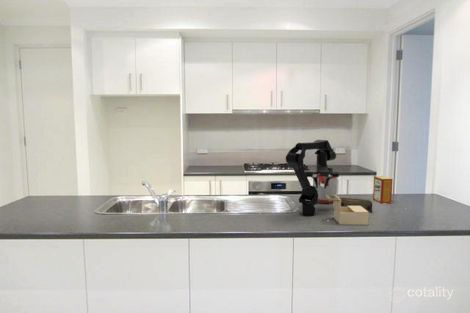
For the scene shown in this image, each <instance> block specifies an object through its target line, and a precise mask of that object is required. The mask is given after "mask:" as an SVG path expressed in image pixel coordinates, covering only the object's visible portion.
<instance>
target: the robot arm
mask: <svg viewBox="0 0 470 313" xmlns="http://www.w3.org/2000/svg"><path fill="white" fill-rule="evenodd" d="M308 150H311V151H312V150H316V151H315V152H314V155H316V165H315V166H316V167H315V168H316V169H315V171H312V170H305V168H304V166H303V164H304V158H305V157H306V151H308ZM299 151H300V153H298V152H299ZM336 159H337V153H336V152H335V151H334V148H332V146H331V144H330V142H329V140H327V139H316V140H314V141H311V142H298V143H296V144H295V146H293V147H292V148H291V149H290V150H289V151H288V152H287V154H286V156H285V162H286V164H288V166H289V167H290V168H291V169H292V170H293V171H294V173H295V175H296V178H297V180H298V183H299V184H300V186H301V192H300V193H301V195H300V196H299V198H298V203H300V204H301V211H300V214H301V215H302V216H303V217H304V216H305V217H307V216H310V217H312V216H313V217H314V216H315V214H316V213H315V212H316V207H315V205H317V204H318V202H317V200H318V193H317V192H318V191H317V189H318V182H317V179H318V177H317V175H320V176H321V177H323V176H325V180H324V188H326V186H327V183H328V181H329V180H330V179H331V178H332V176H333V177H337V178H339V177H340V172H339V171H338V170H333V167H328V162H330V161H335V160H336ZM309 178H311V179H312V181H313V180H314V182H315V185H316V187H315V186H313V185H311V183H310V180H309ZM316 188H317V189H316Z"/></svg>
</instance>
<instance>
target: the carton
mask: <svg viewBox="0 0 470 313" xmlns="http://www.w3.org/2000/svg"><path fill="white" fill-rule="evenodd" d="M369 214H370V213H369V212H368V211H367V210H365V209H364V208H363V207H361V206H347V207H341V208H340V213H339V212H338V211H337V210H336V209H335V208H334V207H333V219H334V220H335V221H336V222H337V223H338V224H339V225H343V226H344V225H350V226H352V225H353V226H355V225H360V226H363V225H365V226H368V225H369Z"/></svg>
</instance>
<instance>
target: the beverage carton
mask: <svg viewBox="0 0 470 313" xmlns="http://www.w3.org/2000/svg"><path fill="white" fill-rule="evenodd" d="M339 198H340V199H341V207H347V206H361V207H363V208H364V209H365V210H367V211H368V212H369V214H372V213H373V202H372V200H371V199H365V198H364V199H362V198H351V197H349V198H348V197H339Z"/></svg>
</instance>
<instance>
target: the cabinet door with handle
mask: <svg viewBox="0 0 470 313" xmlns="http://www.w3.org/2000/svg"><path fill="white" fill-rule="evenodd" d="M324 197H325V198H326V199H327V200H328V201H329V202H331V201H333V202H332V208H333V209H334V208H335V209H336V210H337V211H338V212H339V213H340V208H341V199H340V198H341V197H339V196H338V195H337V194H336V195H335V194H334V196H328V195H324ZM330 197H331V198H334V199H331V198H330Z"/></svg>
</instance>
